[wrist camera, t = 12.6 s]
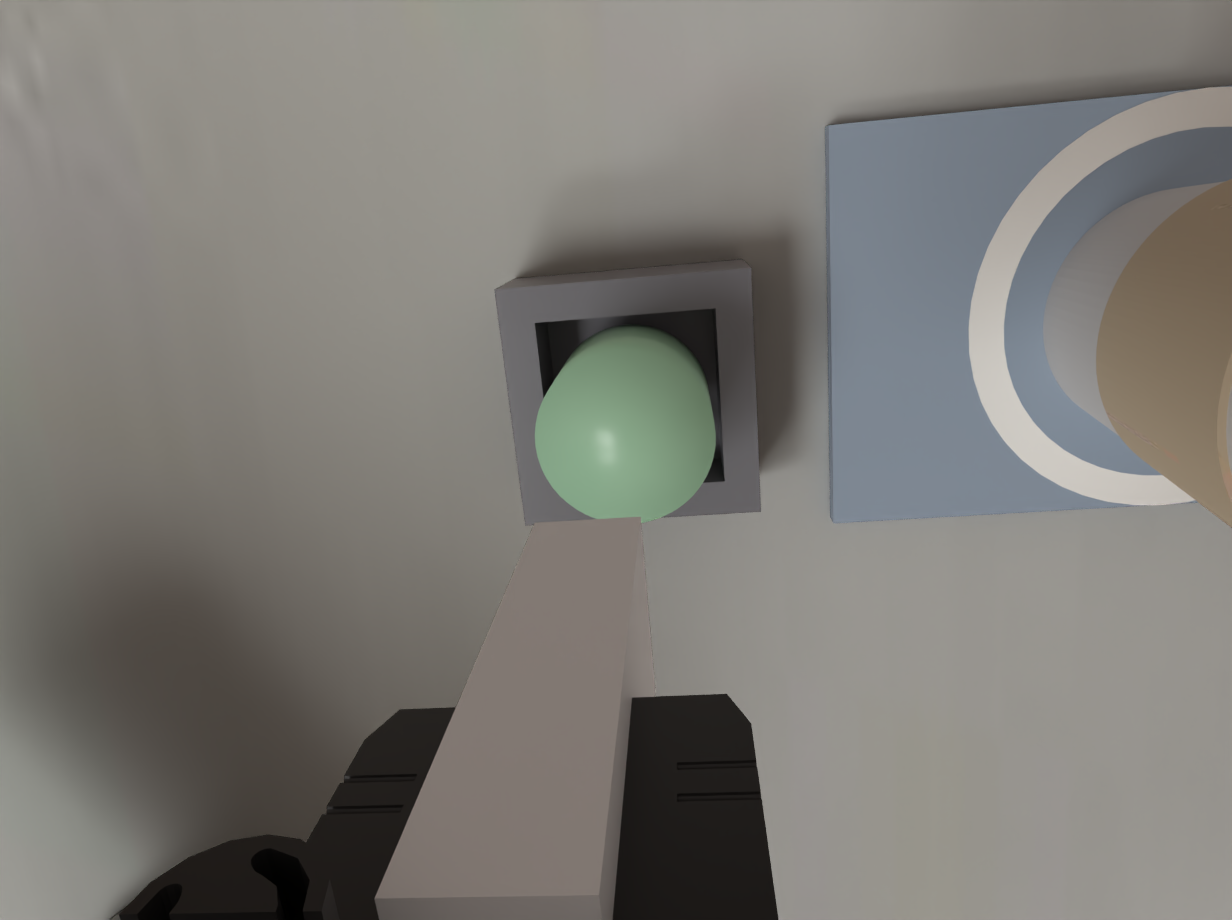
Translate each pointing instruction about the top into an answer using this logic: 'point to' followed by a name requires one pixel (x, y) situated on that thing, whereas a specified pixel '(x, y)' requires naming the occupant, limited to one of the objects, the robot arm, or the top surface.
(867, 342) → the slate board
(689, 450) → the button
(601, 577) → the robot arm
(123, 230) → the top surface
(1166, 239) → the coffee cup
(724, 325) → the button housing
